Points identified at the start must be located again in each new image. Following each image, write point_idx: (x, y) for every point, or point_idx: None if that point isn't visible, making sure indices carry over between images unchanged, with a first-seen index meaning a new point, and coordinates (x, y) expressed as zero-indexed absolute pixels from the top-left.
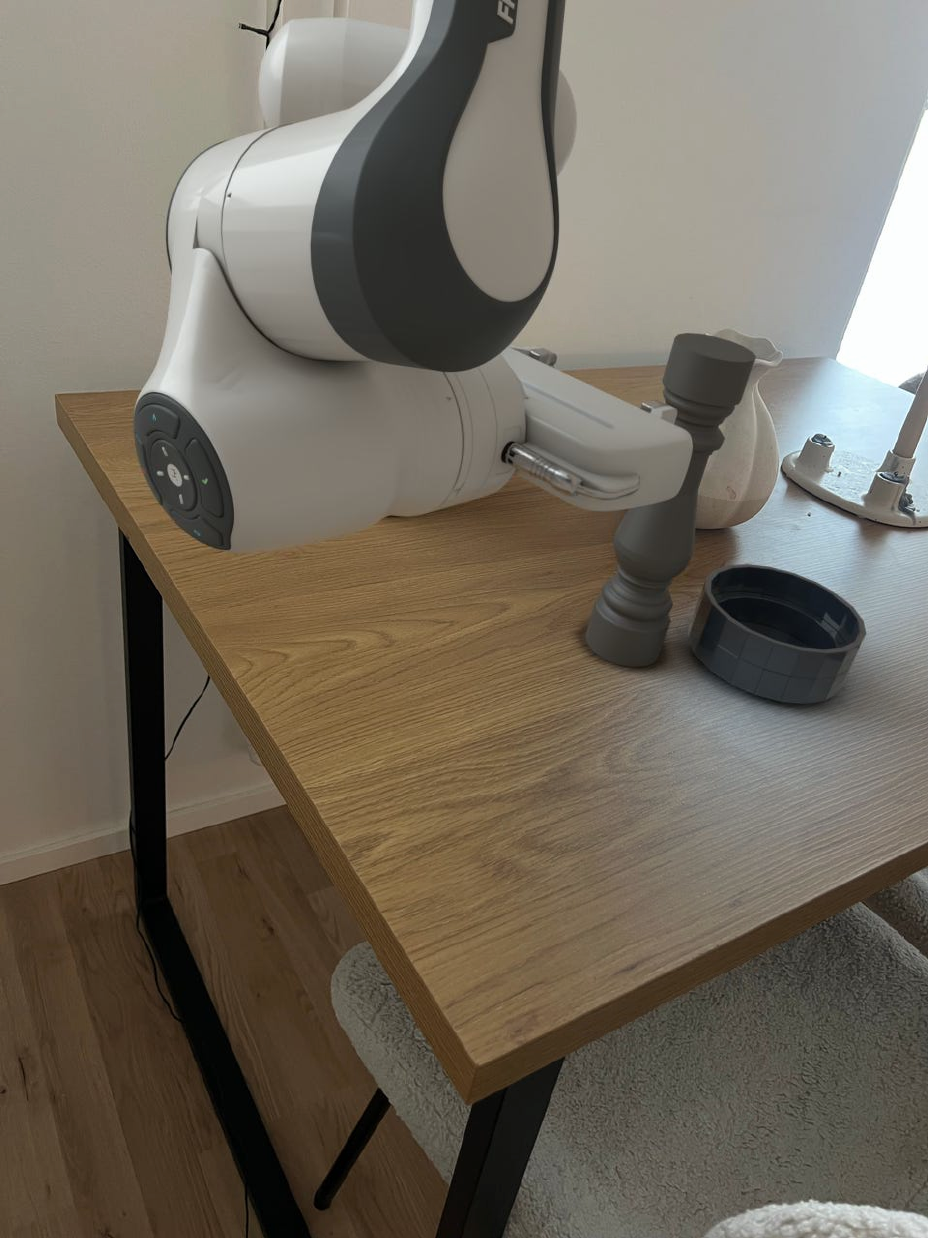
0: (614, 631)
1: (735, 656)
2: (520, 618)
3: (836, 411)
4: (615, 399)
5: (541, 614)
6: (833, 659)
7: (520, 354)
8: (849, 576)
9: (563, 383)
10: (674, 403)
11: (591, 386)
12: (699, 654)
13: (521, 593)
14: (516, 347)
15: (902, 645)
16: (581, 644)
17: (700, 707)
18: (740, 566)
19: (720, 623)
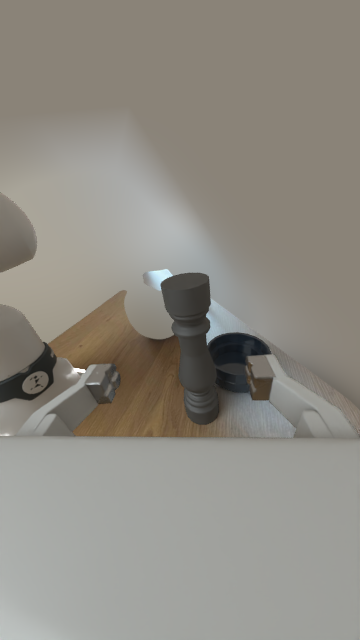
0: (205, 415)
1: (245, 384)
2: (161, 434)
3: (161, 280)
4: (322, 465)
5: (165, 422)
6: None
7: (77, 456)
8: (213, 318)
9: (216, 520)
10: (184, 320)
11: (239, 447)
12: (227, 388)
13: (149, 416)
14: (68, 395)
15: (247, 329)
16: (191, 424)
17: (252, 414)
18: (208, 345)
19: (232, 377)
